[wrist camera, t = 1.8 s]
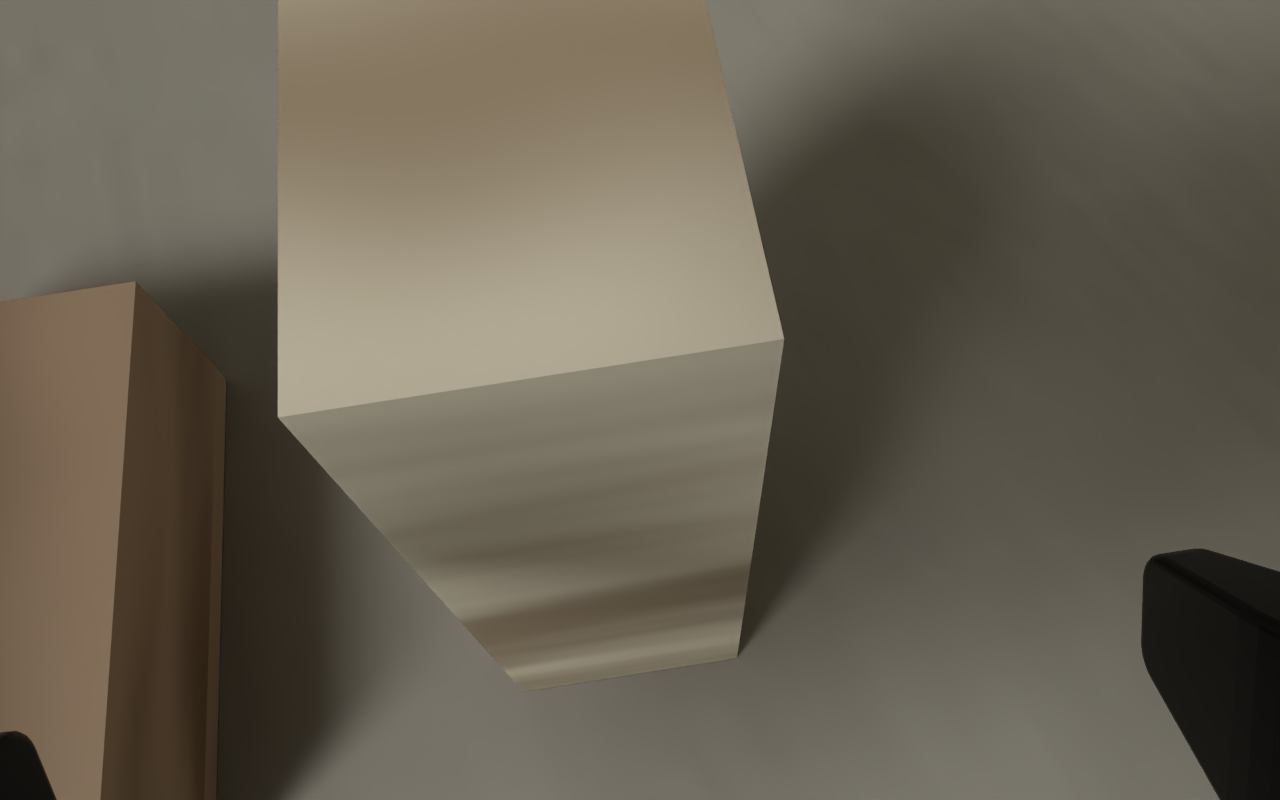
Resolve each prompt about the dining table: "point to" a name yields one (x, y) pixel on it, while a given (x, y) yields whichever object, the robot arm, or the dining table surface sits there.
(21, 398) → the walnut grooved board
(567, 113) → the cream wooden block
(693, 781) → the dining table surface
